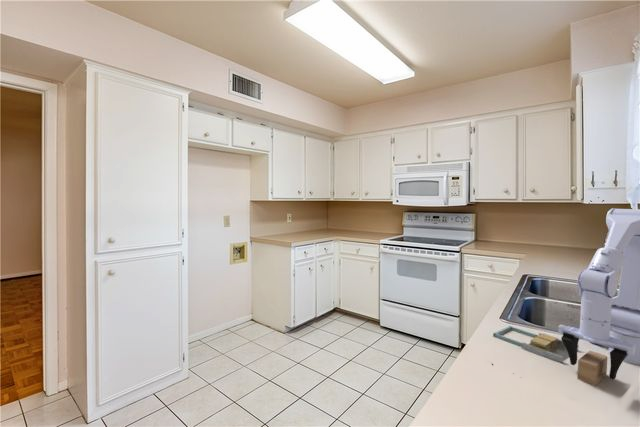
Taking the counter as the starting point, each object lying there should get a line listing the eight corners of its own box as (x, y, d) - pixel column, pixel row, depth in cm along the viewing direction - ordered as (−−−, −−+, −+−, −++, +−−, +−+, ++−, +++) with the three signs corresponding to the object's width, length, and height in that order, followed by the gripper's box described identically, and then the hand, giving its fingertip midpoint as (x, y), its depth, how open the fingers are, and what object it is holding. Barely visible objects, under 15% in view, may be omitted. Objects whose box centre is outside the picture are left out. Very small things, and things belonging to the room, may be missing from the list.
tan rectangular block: (588, 374, 82) (589, 350, 82) (606, 380, 79) (607, 356, 79) (577, 384, 78) (578, 359, 77) (595, 392, 75) (596, 365, 74)
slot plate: (539, 342, 101) (540, 333, 101) (578, 355, 92) (578, 345, 92) (521, 352, 93) (521, 343, 93) (560, 368, 85) (561, 357, 85)
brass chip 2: (542, 341, 98) (542, 333, 98) (557, 346, 95) (557, 338, 95) (536, 344, 96) (537, 336, 96) (552, 349, 93) (552, 341, 92)
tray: (509, 332, 107) (509, 325, 107) (537, 342, 100) (537, 334, 100) (493, 340, 101) (493, 333, 101) (521, 351, 94) (521, 343, 94)
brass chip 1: (536, 344, 96) (536, 336, 95) (551, 350, 92) (551, 341, 92) (530, 348, 93) (530, 340, 93) (545, 353, 90) (545, 345, 90)
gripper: (554, 312, 81) (552, 362, 82) (631, 332, 69) (627, 390, 70) (564, 307, 85) (562, 355, 86) (639, 325, 73) (635, 380, 74)
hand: (592, 370), depth 78 cm, fingers open, 7 cm apart
